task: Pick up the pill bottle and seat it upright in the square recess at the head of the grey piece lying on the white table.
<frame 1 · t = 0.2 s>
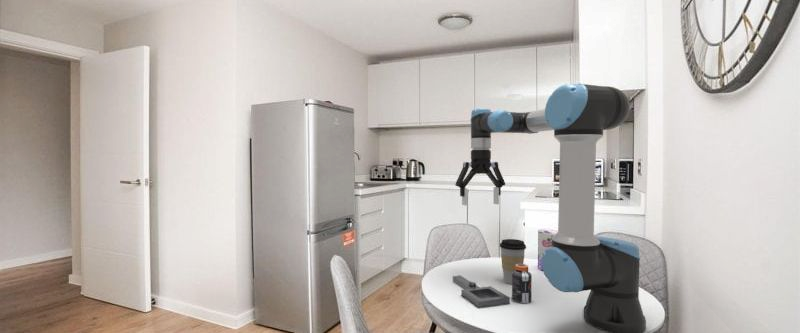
hand: (480, 204, 146), 28 cm above the table, fingers open, 13 cm apart
coffee cup: (512, 282, 139), on the table
grey piece: (484, 299, 122), on the table
candy box: (555, 273, 151), on the table
pill bottle: (521, 300, 122), on the table
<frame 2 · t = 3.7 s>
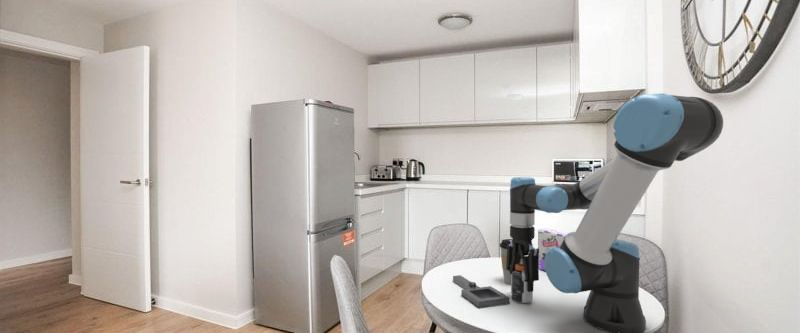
hand: (521, 297, 122), 1 cm above the table, fingers closed on pill bottle, 6 cm apart
pill bottle: (521, 300, 122), on the table, touching gripper
everything else where it was.
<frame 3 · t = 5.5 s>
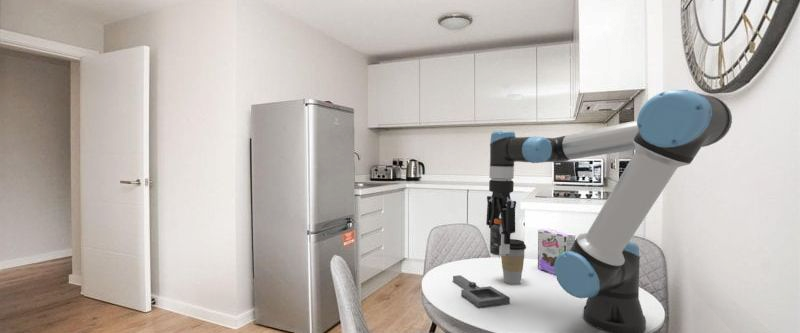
hand: (499, 250, 122), 16 cm above the table, fingers closed on pill bottle, 6 cm apart
pill bottle: (499, 254, 122), point 14 cm above the table, touching gripper
everything else where it was.
when the fingers open (4 cm above the table, at t = 7.6 s): pill bottle drops 2 cm, resting on grey piece.
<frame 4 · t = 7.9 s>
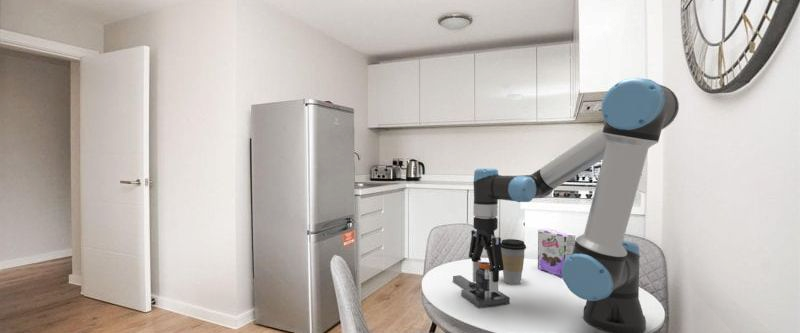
hand: (484, 286, 122), 4 cm above the table, fingers open, 9 cm apart
grey piece: (484, 299, 122), on the table, touching pill bottle
pill bottle: (485, 298, 122), resting on grey piece
everything else where it was.
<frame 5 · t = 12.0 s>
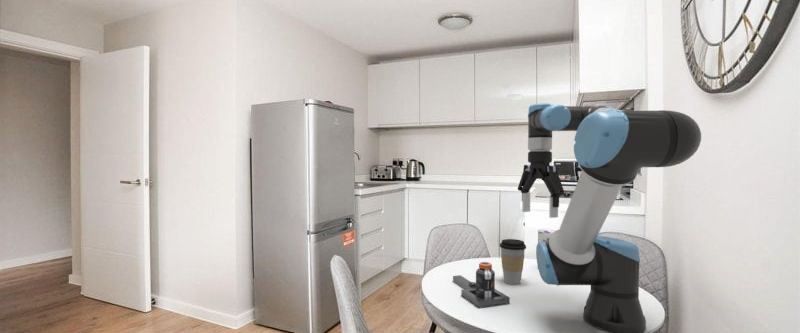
hand: (539, 214, 127), 27 cm above the table, fingers open, 13 cm apart
nothing on the table moved.
at the end: pill bottle 0.1 cm off-centre on the grey piece, point 0.3 cm above the grey piece's base; pill bottle tilted 0°; the gripper is holding nothing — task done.
